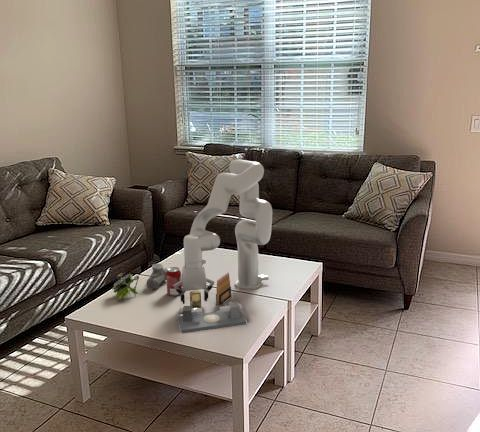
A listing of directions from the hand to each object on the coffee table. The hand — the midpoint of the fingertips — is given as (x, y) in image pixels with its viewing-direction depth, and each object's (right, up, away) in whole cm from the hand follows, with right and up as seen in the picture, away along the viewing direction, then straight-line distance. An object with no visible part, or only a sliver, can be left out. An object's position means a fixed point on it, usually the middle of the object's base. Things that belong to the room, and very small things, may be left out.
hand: (194, 301), depth 218 cm
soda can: (-11, +1, +16) cm, 19 cm away
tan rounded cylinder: (0, -3, +1) cm, 3 cm away
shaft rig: (+8, -6, -12) cm, 16 cm away
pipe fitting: (-20, +3, +25) cm, 32 cm away
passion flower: (-32, 0, +14) cm, 35 cm away
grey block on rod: (0, -5, -12) cm, 13 cm away
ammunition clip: (+12, -1, +7) cm, 14 cm away
